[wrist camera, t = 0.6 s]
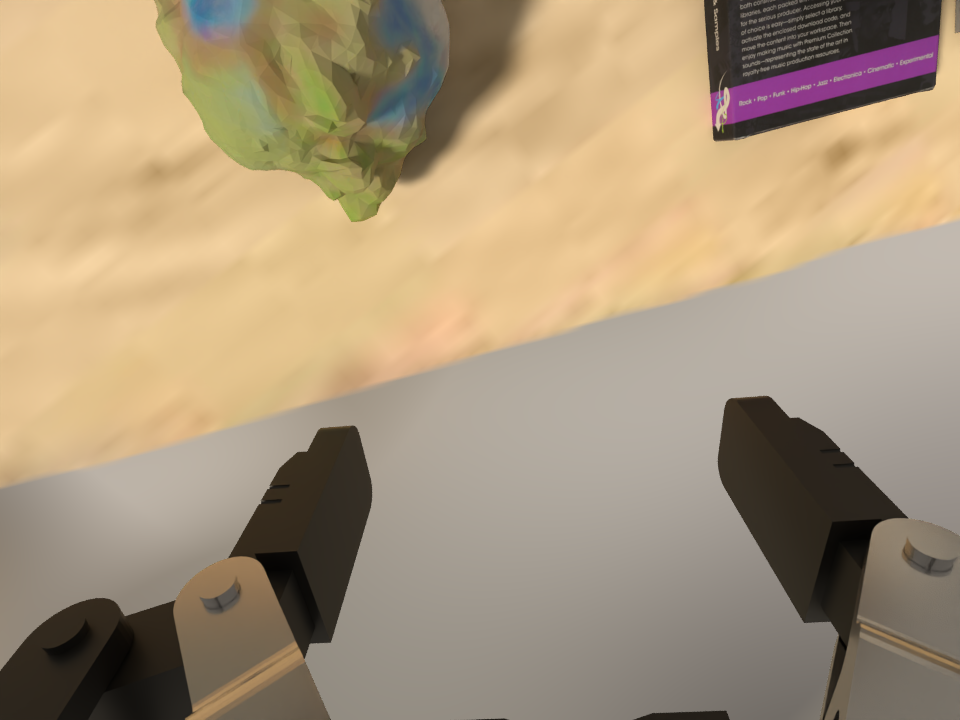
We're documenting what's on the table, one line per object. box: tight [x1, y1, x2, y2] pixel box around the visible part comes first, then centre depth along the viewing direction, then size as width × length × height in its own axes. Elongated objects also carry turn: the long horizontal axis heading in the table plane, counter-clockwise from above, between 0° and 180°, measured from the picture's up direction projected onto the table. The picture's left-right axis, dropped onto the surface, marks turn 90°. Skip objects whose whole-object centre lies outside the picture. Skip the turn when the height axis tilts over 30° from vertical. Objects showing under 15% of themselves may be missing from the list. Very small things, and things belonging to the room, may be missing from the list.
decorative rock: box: [154, 0, 450, 222], centre depth 27 cm, size 14×16×15 cm
